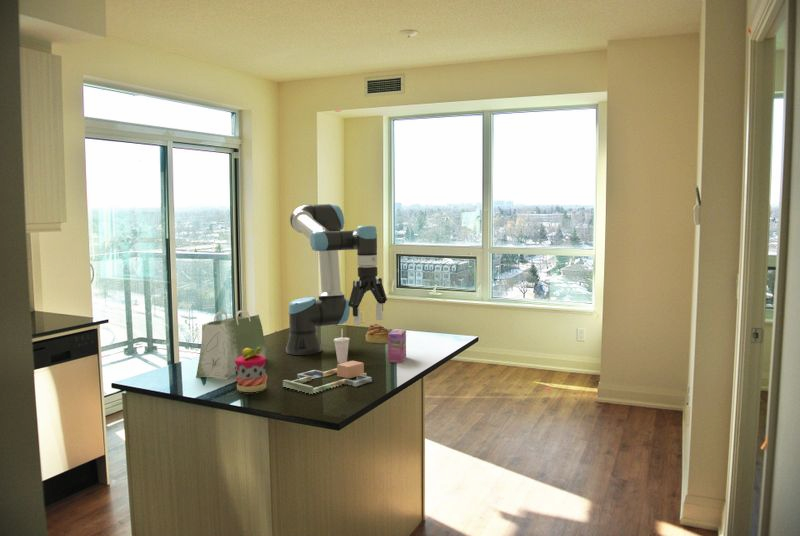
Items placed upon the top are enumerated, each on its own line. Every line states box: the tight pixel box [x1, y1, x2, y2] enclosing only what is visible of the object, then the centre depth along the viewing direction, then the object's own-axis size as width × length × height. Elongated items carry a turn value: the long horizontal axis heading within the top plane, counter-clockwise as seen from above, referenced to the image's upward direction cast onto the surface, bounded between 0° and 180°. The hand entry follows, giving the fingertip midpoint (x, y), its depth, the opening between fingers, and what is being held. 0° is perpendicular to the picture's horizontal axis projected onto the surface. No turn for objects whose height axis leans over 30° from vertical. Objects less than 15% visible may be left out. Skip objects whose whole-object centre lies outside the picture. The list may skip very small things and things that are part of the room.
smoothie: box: [333, 328, 351, 364], centre depth 248 cm, size 6×6×14 cm
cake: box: [235, 347, 268, 393], centre depth 211 cm, size 10×11×15 cm
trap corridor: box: [282, 367, 373, 395], centre depth 219 cm, size 27×25×2 cm
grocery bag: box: [195, 309, 267, 379], centre depth 242 cm, size 32×14×23 cm, turn 165°
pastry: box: [365, 323, 392, 344], centre depth 292 cm, size 13×15×8 cm
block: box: [336, 360, 365, 380], centre depth 229 cm, size 6×8×4 cm
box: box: [387, 328, 407, 364], centre depth 251 cm, size 10×6×12 cm, turn 168°
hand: (368, 322), depth 235 cm, fingers open, 12 cm apart
